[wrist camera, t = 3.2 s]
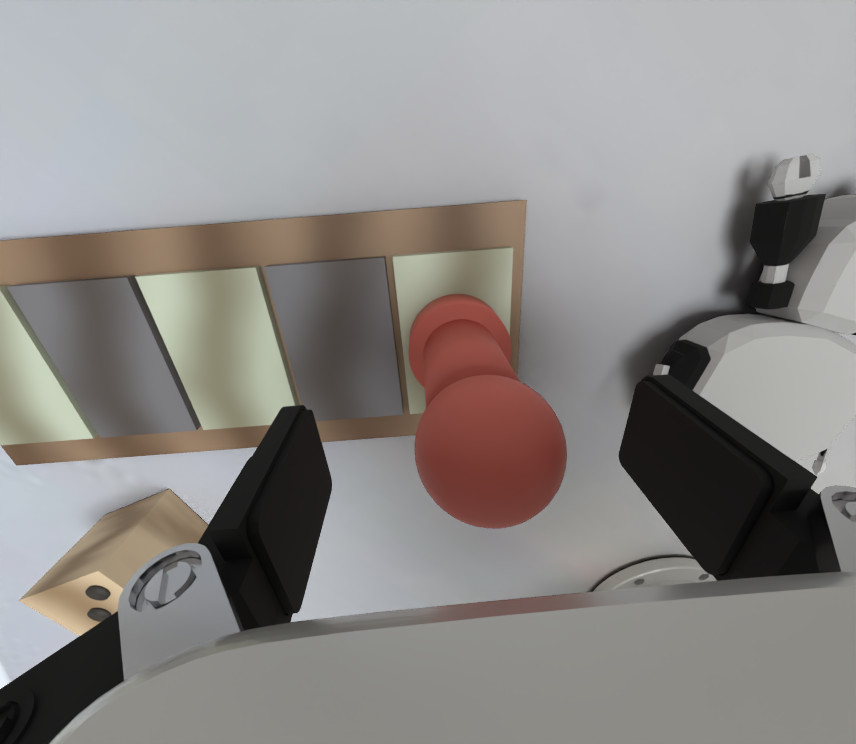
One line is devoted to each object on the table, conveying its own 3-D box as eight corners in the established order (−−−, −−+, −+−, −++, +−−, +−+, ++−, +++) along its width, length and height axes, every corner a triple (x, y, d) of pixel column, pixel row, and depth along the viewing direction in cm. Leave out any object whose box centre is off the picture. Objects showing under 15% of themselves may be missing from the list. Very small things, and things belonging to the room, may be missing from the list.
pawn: (503, 290, 17) (628, 411, 7) (501, 377, 19) (592, 564, 9) (405, 297, 17) (389, 429, 7) (413, 384, 19) (411, 578, 9)
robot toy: (725, 153, 17) (598, 412, 22) (829, 126, 13) (642, 453, 18) (914, 220, 19) (754, 445, 24) (1061, 215, 14) (827, 490, 20)
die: (168, 488, 24) (95, 573, 19) (224, 540, 27) (174, 628, 21) (104, 515, 25) (15, 603, 19) (163, 562, 27) (100, 652, 22)
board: (521, 200, 17) (530, 199, 15) (511, 420, 22) (516, 433, 21) (-128, 250, 17) (-172, 254, 15) (29, 456, 22) (6, 471, 21)
